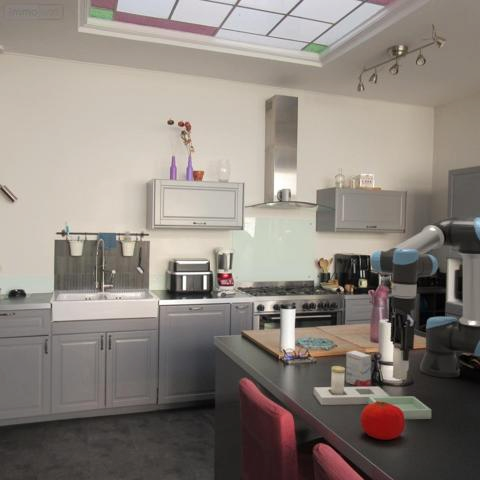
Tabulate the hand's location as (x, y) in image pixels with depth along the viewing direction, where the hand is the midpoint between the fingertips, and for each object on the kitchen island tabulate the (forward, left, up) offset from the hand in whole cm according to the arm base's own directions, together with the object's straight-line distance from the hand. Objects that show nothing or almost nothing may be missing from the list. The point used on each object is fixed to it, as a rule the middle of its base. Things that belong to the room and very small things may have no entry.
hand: (400, 367), depth 162 cm
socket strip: (+12, -12, -15) cm, 22 cm away
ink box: (+4, -27, -15) cm, 31 cm away
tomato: (+13, +17, -15) cm, 26 cm away
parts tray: (0, 0, -15) cm, 15 cm away
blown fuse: (0, 0, -3) cm, 3 cm away
